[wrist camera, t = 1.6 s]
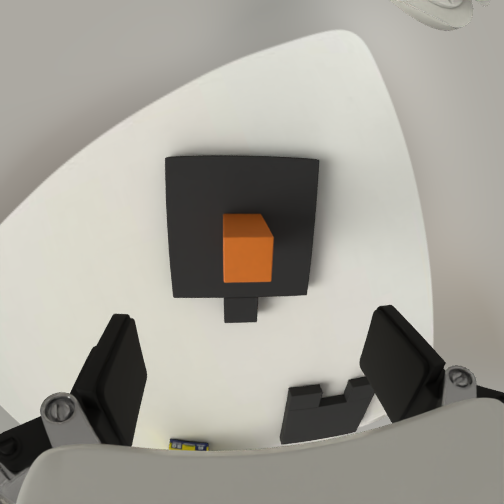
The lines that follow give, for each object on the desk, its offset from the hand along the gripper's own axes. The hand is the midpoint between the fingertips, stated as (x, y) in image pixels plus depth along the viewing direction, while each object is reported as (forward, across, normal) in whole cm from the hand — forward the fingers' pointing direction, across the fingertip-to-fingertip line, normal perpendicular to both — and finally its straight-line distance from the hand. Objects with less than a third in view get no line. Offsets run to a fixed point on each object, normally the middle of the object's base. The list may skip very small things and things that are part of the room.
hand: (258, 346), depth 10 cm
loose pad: (+15, 0, +1) cm, 15 cm away
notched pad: (+15, -12, +26) cm, 32 cm away
